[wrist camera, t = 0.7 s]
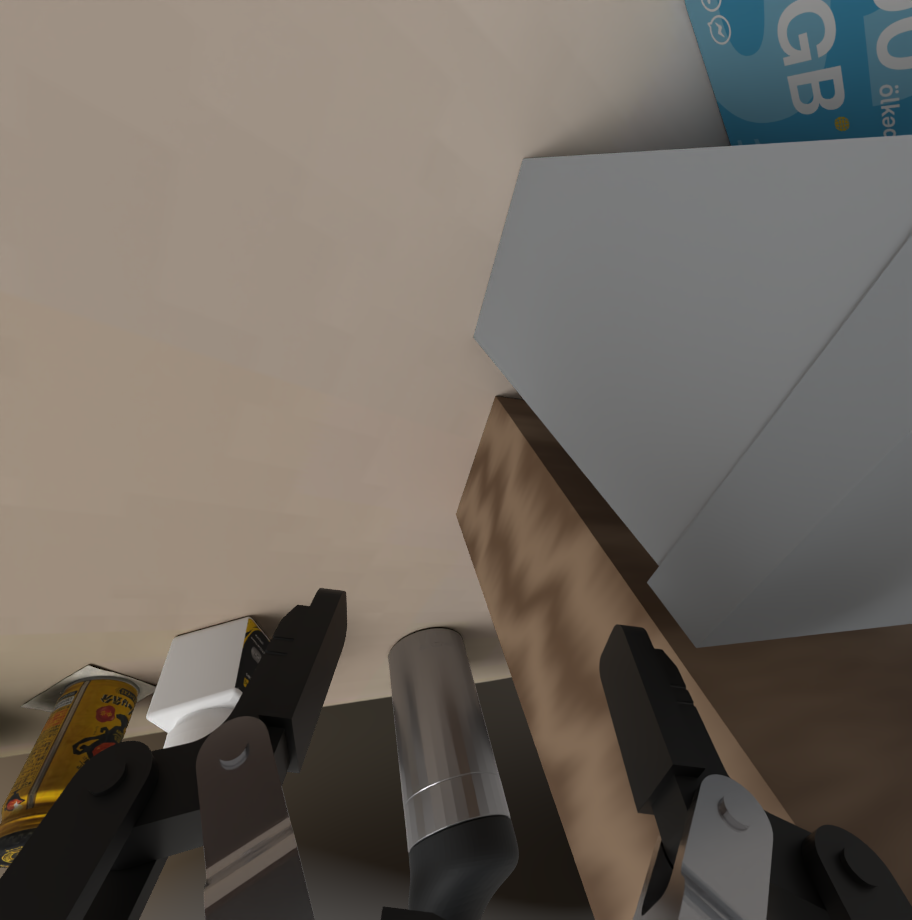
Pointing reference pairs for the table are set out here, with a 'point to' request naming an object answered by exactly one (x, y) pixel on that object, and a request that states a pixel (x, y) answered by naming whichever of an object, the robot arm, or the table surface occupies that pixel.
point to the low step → (728, 368)
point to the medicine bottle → (205, 679)
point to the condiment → (66, 745)
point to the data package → (807, 67)
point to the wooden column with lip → (703, 669)
